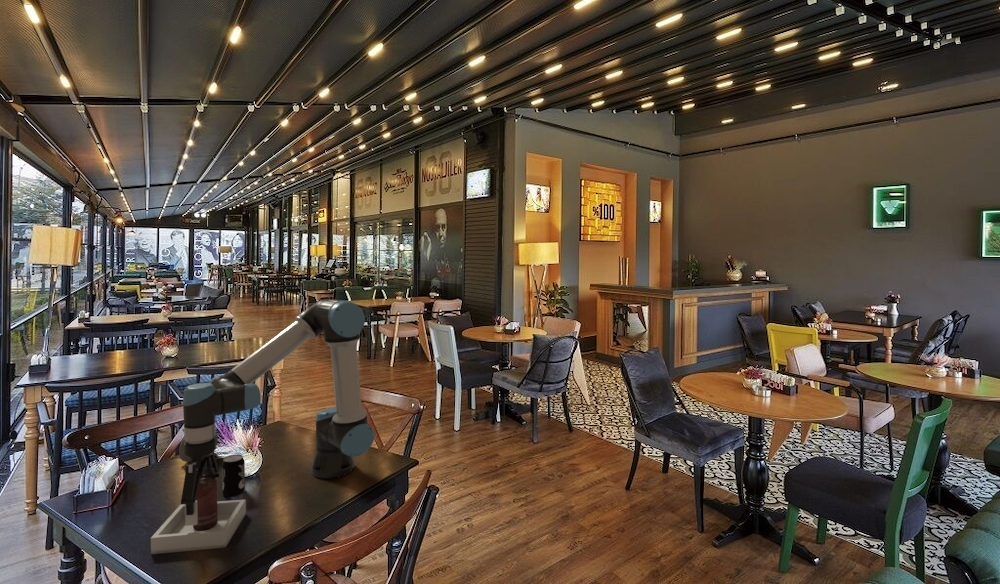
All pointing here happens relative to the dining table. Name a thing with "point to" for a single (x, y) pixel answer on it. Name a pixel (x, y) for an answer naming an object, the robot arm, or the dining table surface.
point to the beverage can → (233, 475)
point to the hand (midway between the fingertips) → (201, 512)
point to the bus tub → (188, 539)
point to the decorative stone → (181, 449)
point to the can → (207, 503)
